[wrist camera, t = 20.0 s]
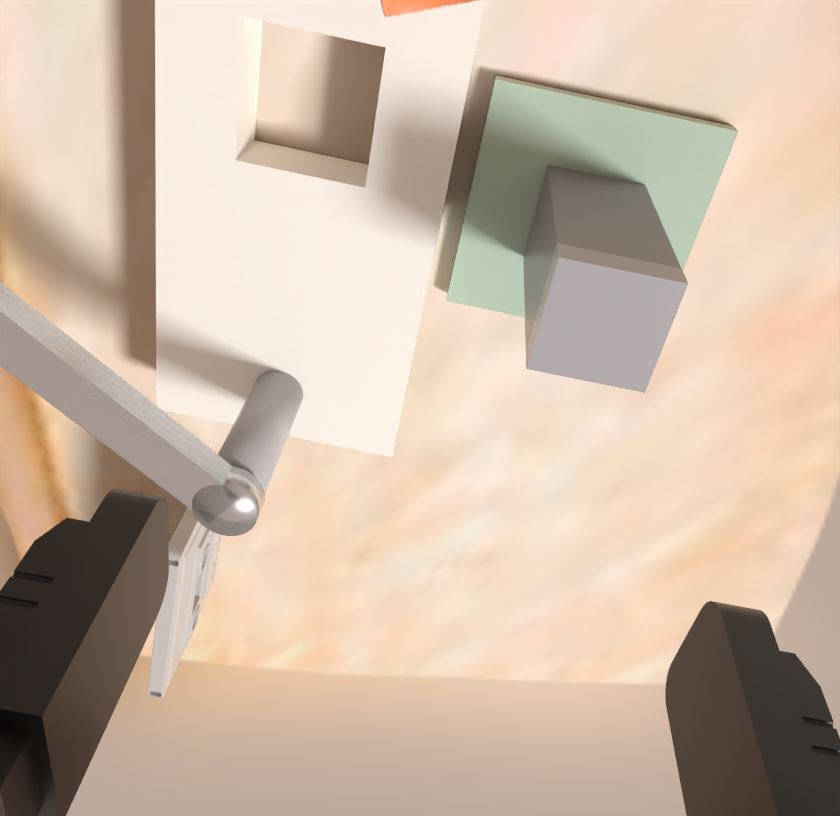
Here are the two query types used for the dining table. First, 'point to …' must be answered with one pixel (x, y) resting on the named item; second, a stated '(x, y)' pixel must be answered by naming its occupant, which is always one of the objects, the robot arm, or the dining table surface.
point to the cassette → (182, 597)
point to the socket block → (297, 227)
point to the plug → (598, 280)
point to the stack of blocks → (415, 6)
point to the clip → (125, 420)
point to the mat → (583, 151)
